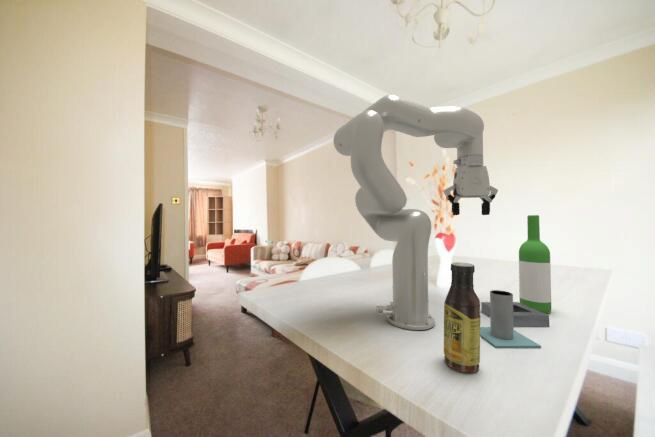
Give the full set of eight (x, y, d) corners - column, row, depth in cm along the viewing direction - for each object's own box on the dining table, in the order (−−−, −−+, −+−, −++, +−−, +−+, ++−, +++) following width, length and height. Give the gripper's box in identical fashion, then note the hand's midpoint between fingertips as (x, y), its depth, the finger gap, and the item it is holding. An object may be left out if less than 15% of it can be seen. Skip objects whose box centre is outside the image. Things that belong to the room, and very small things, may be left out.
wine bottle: (526, 313, 76) (524, 215, 77) (515, 305, 84) (513, 215, 84) (557, 315, 74) (555, 214, 75) (542, 307, 82) (541, 215, 82)
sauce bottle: (437, 357, 52) (436, 261, 52) (466, 356, 52) (465, 260, 53) (456, 377, 45) (455, 266, 45) (489, 375, 46) (487, 265, 46)
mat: (495, 348, 55) (495, 345, 55) (470, 328, 65) (470, 327, 65) (541, 348, 55) (541, 345, 55) (509, 329, 65) (509, 327, 65)
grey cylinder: (517, 340, 58) (516, 295, 58) (495, 339, 59) (495, 294, 59) (507, 332, 62) (506, 290, 62) (487, 330, 63) (486, 289, 63)
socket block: (506, 326, 67) (506, 315, 67) (481, 311, 78) (481, 302, 78) (549, 326, 67) (549, 315, 67) (517, 311, 78) (517, 302, 78)
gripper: (449, 160, 80) (449, 214, 79) (504, 160, 79) (505, 214, 79) (438, 166, 87) (439, 215, 87) (489, 165, 87) (490, 215, 87)
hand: (470, 214), depth 83 cm, fingers open, 9 cm apart
